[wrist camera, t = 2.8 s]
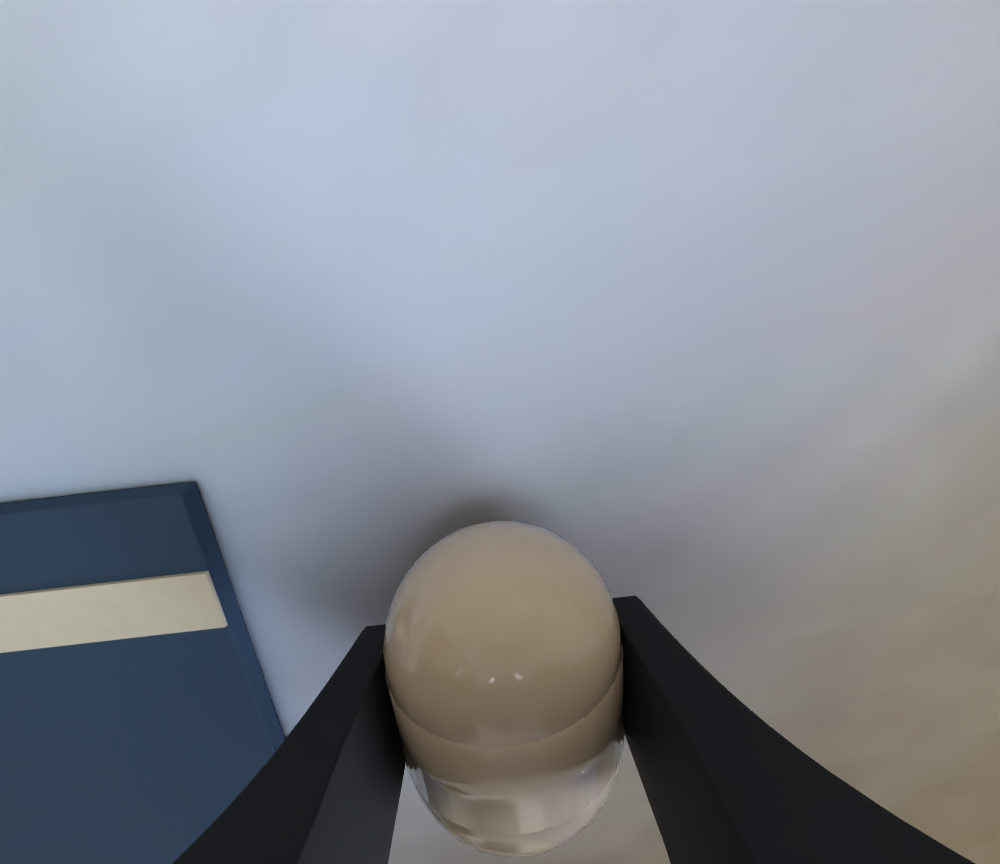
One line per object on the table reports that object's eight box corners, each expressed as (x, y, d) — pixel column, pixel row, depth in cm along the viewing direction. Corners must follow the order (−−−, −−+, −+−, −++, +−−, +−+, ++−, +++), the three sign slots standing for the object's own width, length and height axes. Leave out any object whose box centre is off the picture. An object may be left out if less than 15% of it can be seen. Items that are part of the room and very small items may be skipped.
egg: (600, 696, 13) (655, 900, 9) (429, 715, 13) (409, 930, 9) (589, 470, 11) (658, 610, 7) (384, 494, 11) (329, 647, 7)
